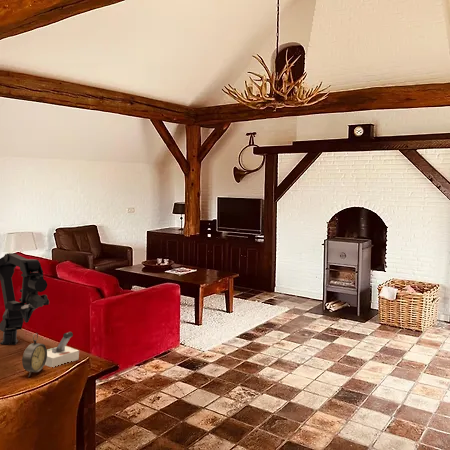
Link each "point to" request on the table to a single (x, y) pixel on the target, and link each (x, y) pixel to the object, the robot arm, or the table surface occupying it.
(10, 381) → the table surface
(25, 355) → the alarm clock
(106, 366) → the table surface
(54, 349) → the switch box
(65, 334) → the breaker lever
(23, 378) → the table surface
